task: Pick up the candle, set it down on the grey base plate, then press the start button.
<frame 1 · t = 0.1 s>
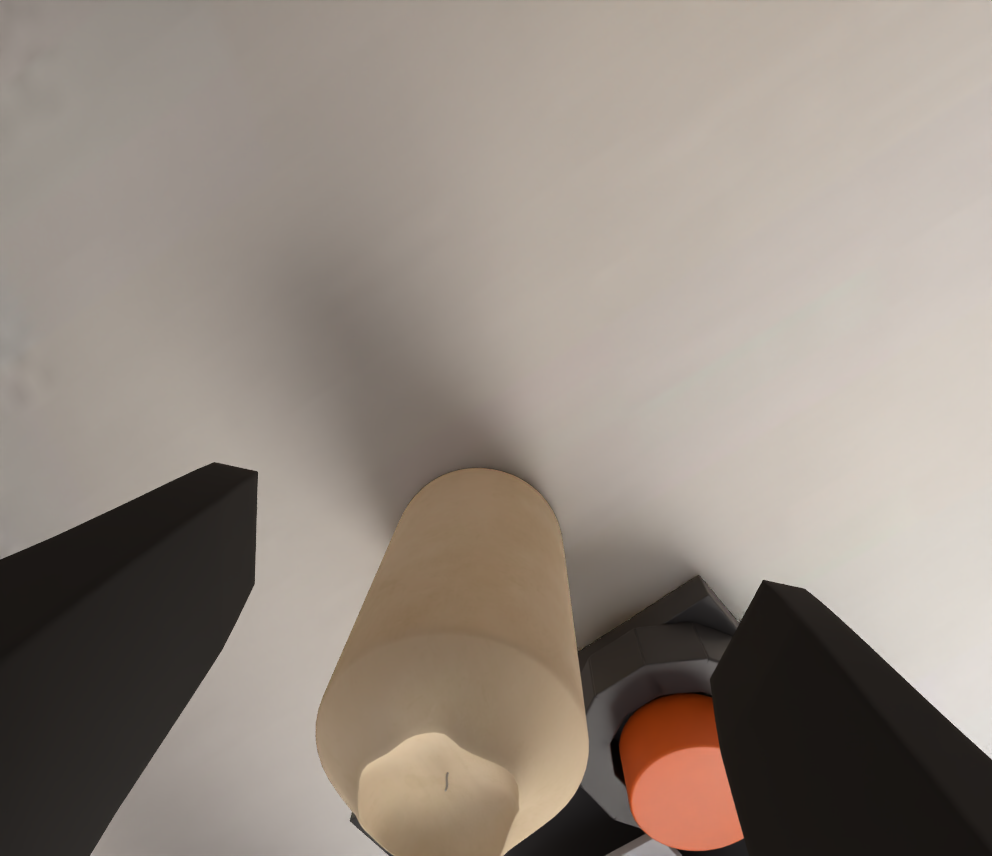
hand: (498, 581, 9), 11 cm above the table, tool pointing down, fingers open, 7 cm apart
candle: (480, 538, 20), on the table
grey base plate: (634, 817, 24), on the table
start button: (690, 770, 18), point 4 cm above the table, slide at 0.1 cm
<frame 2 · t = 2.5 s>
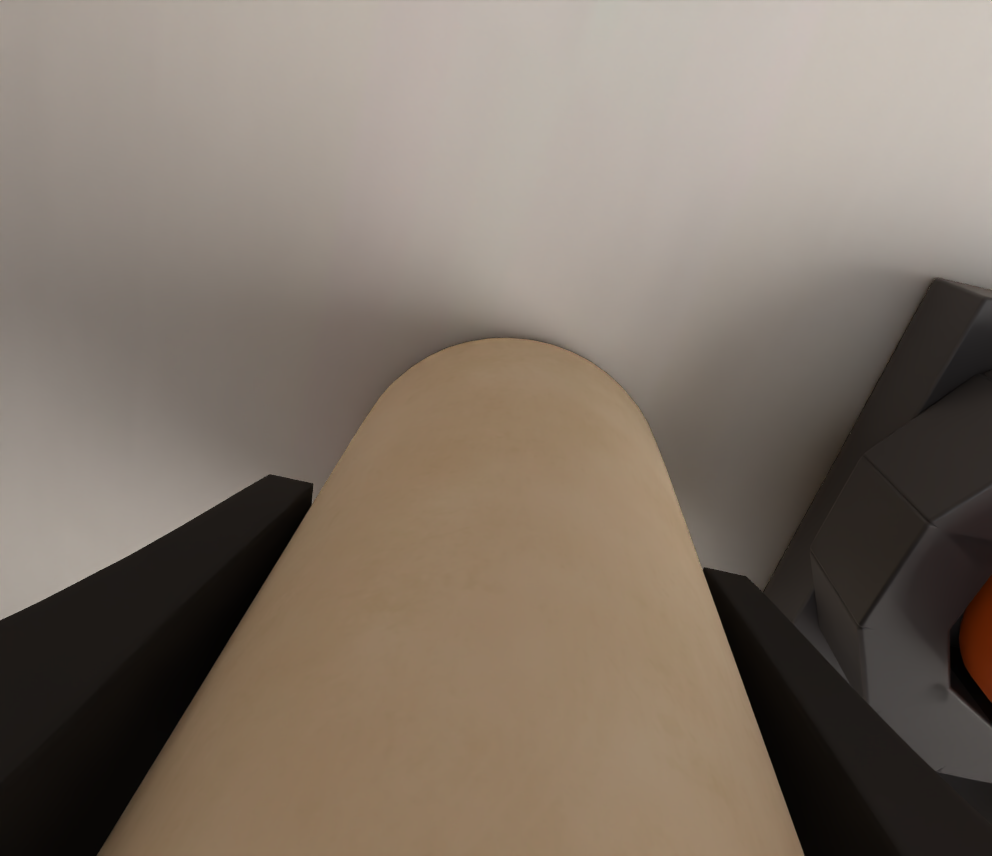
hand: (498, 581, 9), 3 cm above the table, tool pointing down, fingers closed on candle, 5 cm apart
candle: (507, 469, 11), on the table, touching gripper
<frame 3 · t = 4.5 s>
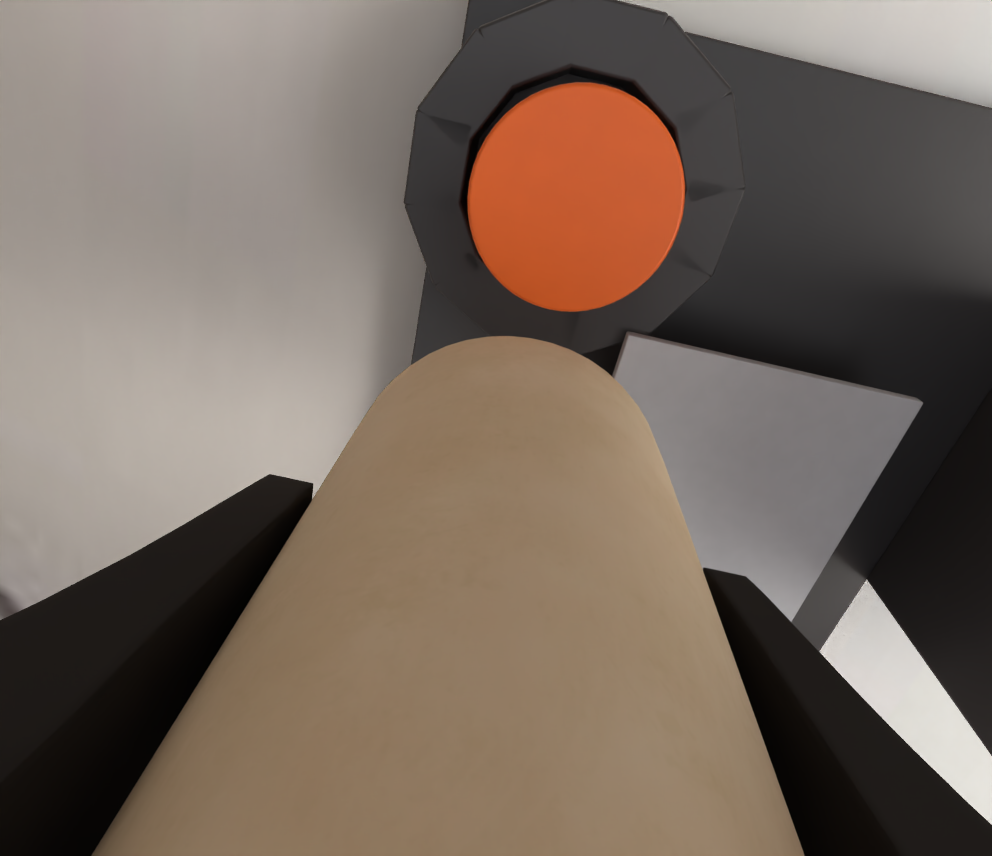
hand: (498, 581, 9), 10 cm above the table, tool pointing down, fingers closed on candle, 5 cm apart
candle: (506, 468, 11), point 7 cm above the table, touching gripper
grey base plate: (676, 382, 17), on the table
start button: (572, 200, 12), point 4 cm above the table, slide at 0.1 cm
when the fingers open (6 cm above the table, at t = 6.8 s): candle stays where it is, resting on coffee maker tower.
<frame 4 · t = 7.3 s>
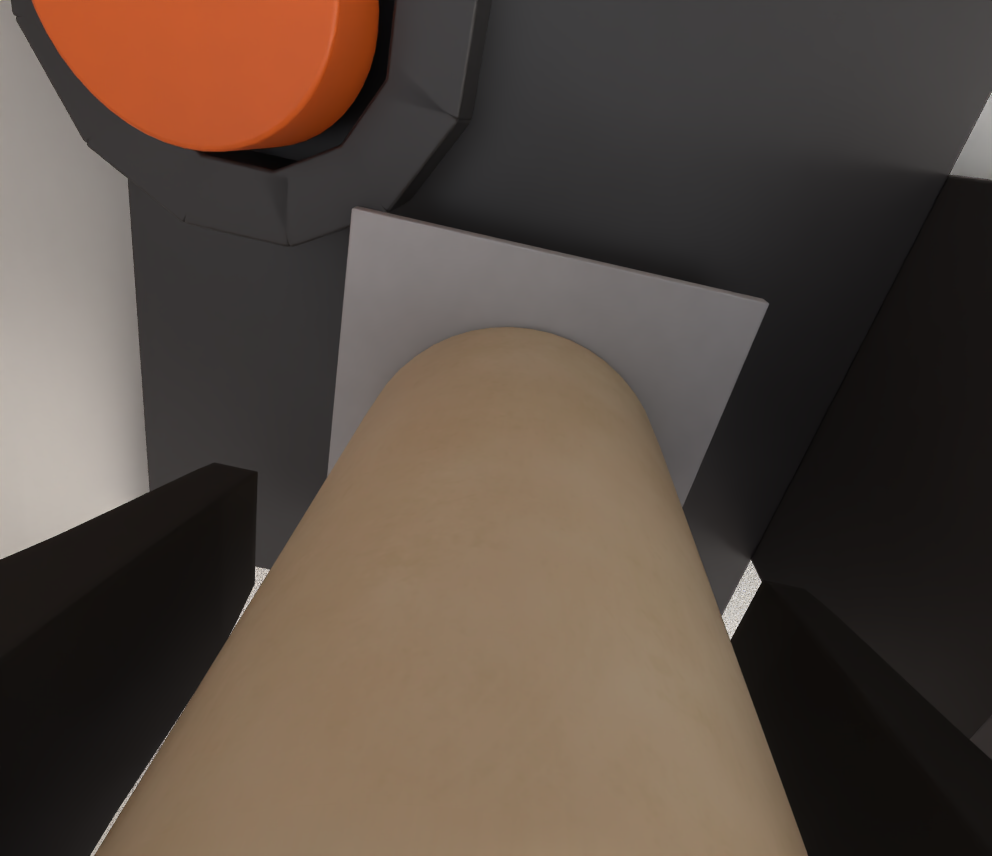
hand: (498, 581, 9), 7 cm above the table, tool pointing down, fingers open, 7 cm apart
candle: (508, 456, 12), point 3 cm above the table, touching coffee maker tower
grey base plate: (493, 306, 14), on the table
coffee maker tower: (916, 401, 14), on the table
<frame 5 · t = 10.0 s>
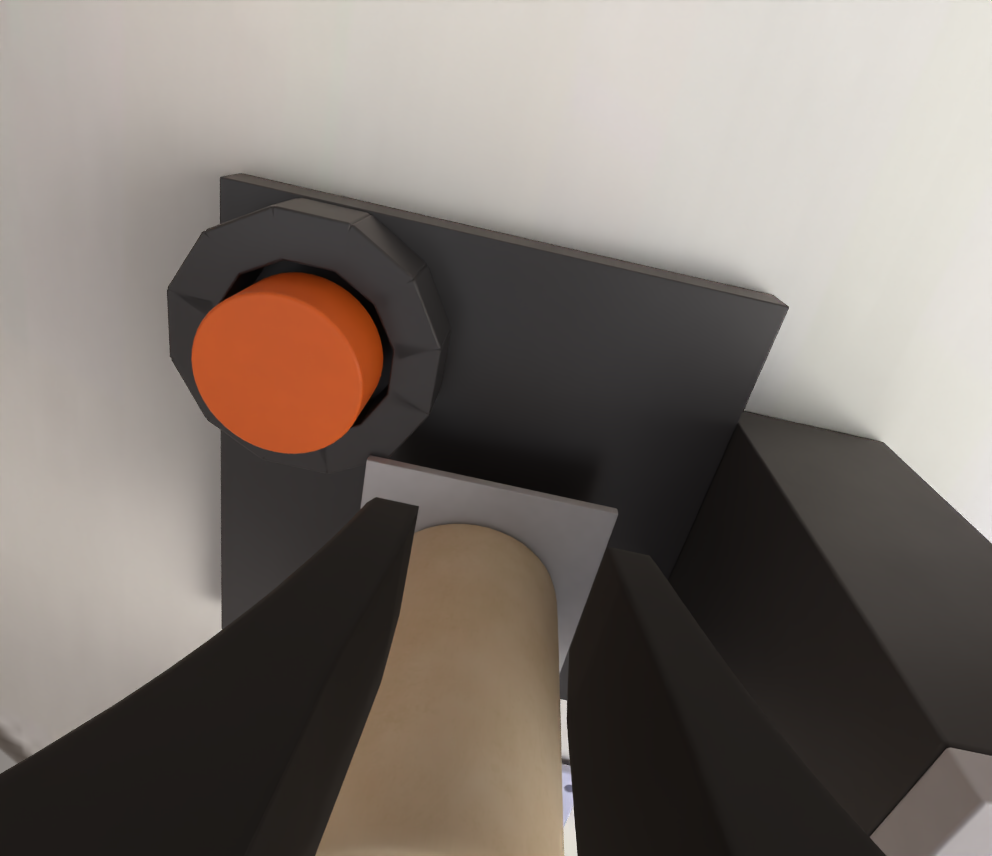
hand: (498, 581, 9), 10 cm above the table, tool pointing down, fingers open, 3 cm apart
candle: (466, 591, 18), point 3 cm above the table, touching coffee maker tower
grey base plate: (459, 477, 20), on the table
coffee maker tower: (747, 539, 20), on the table
start button: (293, 363, 15), point 4 cm above the table, slide at 0.1 cm
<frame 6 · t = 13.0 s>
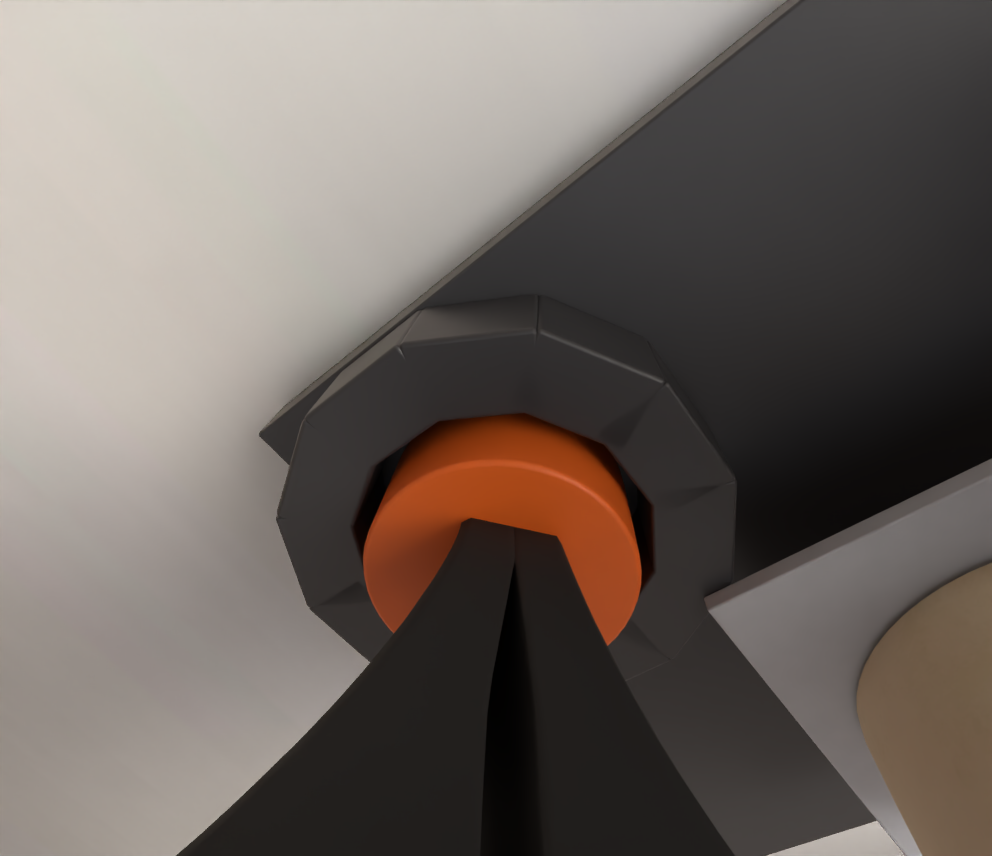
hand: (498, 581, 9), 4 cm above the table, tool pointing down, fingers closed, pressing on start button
grey base plate: (832, 499, 12), on the table
start button: (504, 539, 9), point 3 cm above the table, slide at -0.8 cm, touching gripper
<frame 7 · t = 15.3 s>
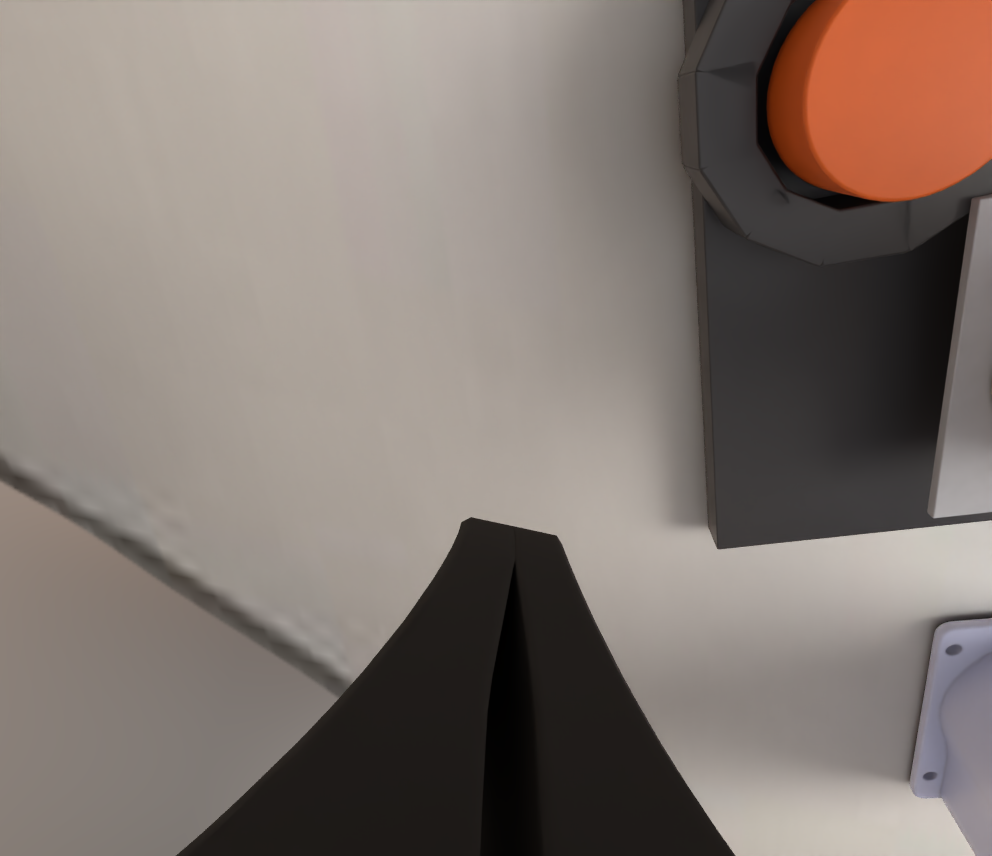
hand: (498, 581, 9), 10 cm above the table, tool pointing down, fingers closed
grey base plate: (991, 246, 16), on the table
start button: (895, 82, 11), point 4 cm above the table, slide at 0.1 cm
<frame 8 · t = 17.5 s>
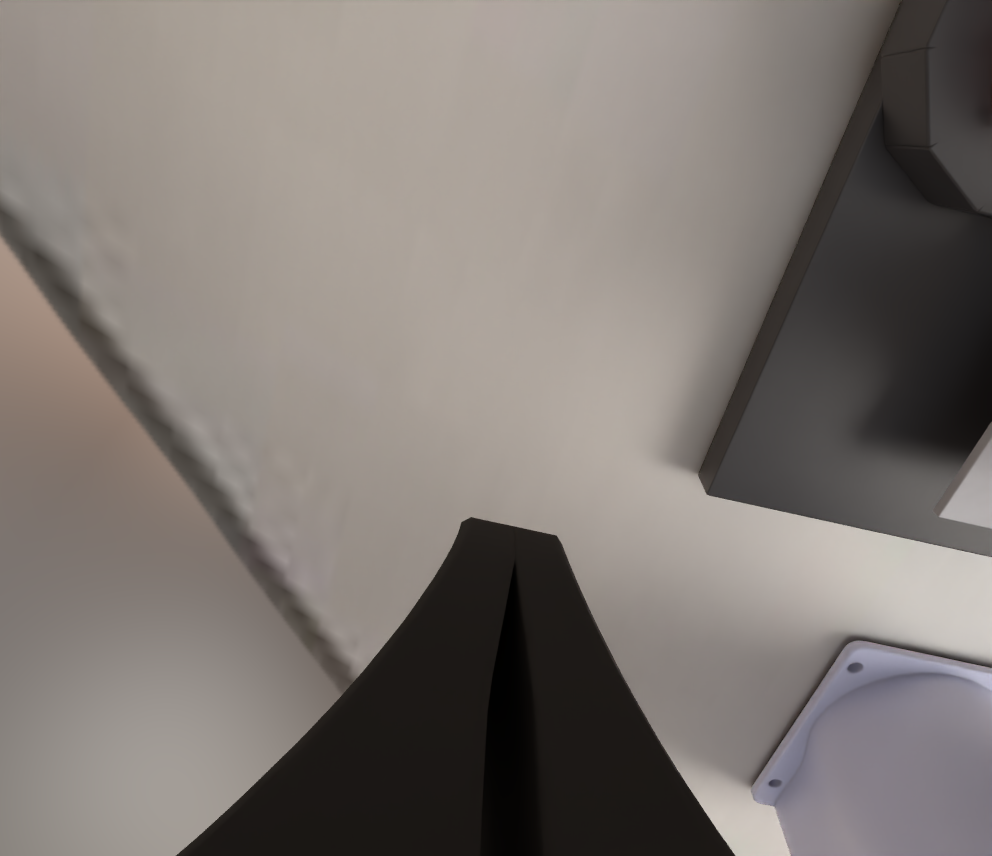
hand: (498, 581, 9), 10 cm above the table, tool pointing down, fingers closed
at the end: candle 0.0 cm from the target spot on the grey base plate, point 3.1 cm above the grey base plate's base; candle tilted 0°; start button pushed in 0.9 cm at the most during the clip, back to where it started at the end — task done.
